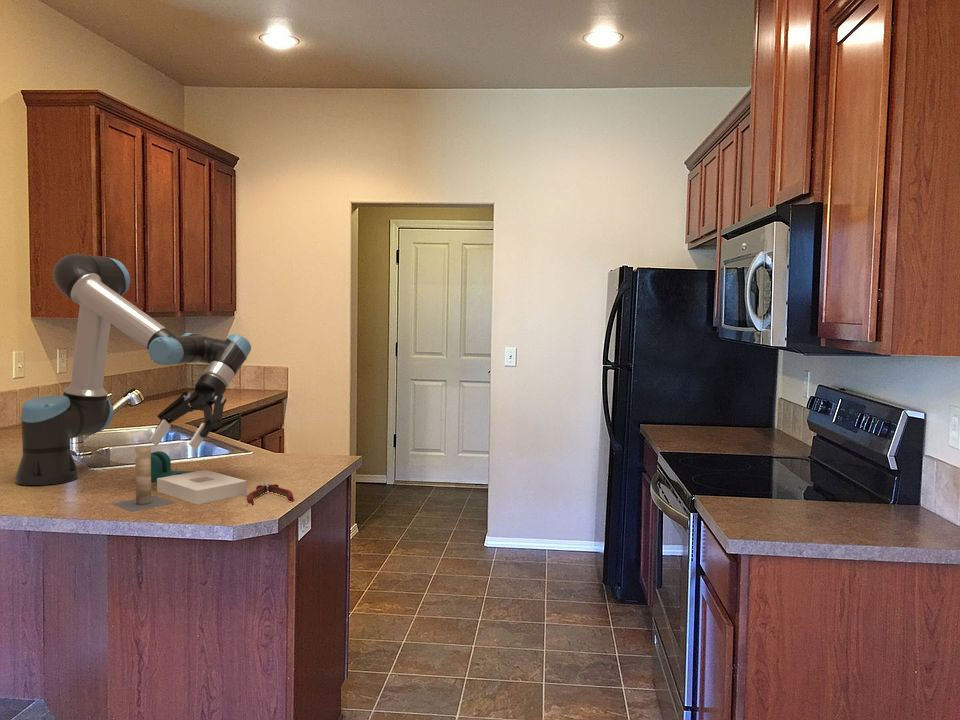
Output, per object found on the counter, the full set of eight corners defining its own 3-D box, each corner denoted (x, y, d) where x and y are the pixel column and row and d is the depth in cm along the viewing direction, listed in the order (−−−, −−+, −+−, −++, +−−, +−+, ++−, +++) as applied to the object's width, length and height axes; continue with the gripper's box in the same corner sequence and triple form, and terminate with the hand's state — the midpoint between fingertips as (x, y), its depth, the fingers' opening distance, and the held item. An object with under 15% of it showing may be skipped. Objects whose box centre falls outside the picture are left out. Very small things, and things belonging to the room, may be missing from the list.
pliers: (286, 485, 201) (286, 476, 201) (294, 504, 182) (294, 493, 182) (243, 489, 197) (243, 479, 197) (247, 508, 178) (247, 497, 178)
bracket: (135, 482, 201) (135, 455, 200) (148, 477, 208) (148, 450, 207) (196, 485, 199) (196, 457, 199) (207, 479, 206) (207, 452, 205)
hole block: (157, 493, 189) (157, 478, 189) (205, 483, 200) (205, 469, 199) (197, 506, 176) (197, 490, 176) (246, 495, 187) (246, 480, 187)
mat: (110, 505, 176) (110, 503, 176) (154, 497, 185) (154, 495, 185) (132, 513, 169) (131, 511, 169) (176, 504, 178) (176, 502, 178)
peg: (133, 503, 177) (132, 447, 176) (147, 500, 179) (146, 445, 179) (140, 505, 174) (139, 449, 174) (154, 503, 177) (153, 447, 176)
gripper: (257, 392, 194) (217, 457, 181) (187, 388, 204) (145, 449, 191) (243, 374, 189) (201, 439, 176) (172, 371, 199) (128, 432, 186)
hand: (172, 444), depth 183 cm, fingers open, 13 cm apart
